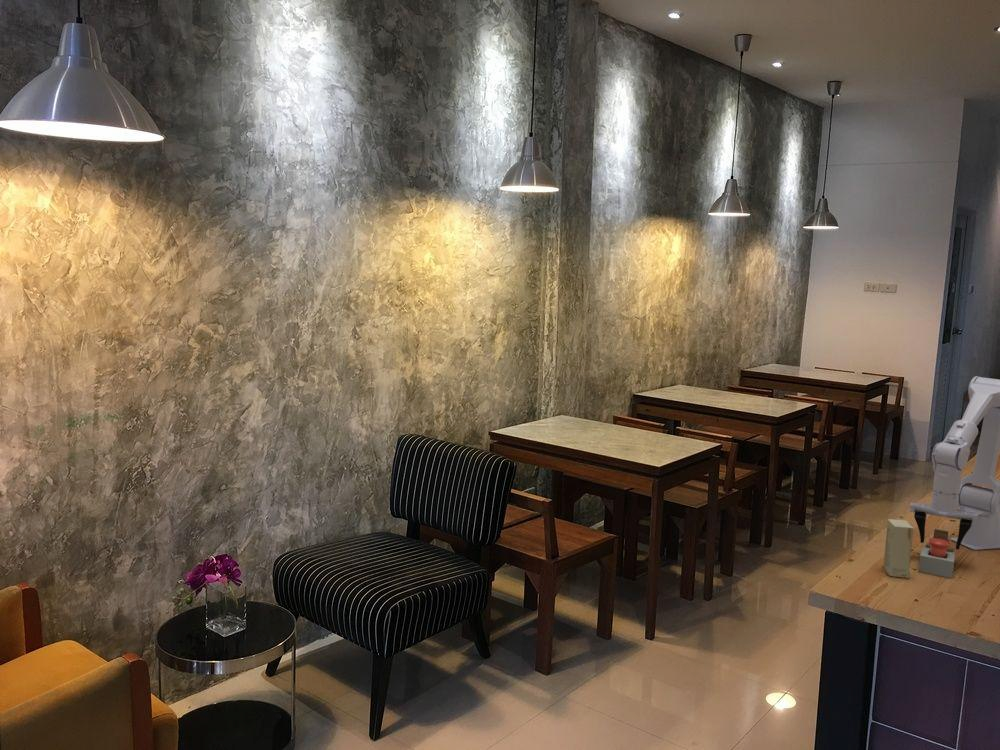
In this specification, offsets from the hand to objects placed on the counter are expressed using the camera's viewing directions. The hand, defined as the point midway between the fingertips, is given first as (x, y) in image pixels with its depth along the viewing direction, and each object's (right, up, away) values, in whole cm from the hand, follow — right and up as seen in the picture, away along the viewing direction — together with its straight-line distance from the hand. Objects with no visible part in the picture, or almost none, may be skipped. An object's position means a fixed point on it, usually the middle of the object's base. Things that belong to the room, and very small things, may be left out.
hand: (939, 544), depth 200 cm
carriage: (0, -4, +1) cm, 4 cm away
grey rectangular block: (-4, -5, -5) cm, 8 cm away
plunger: (-4, -2, -6) cm, 7 cm away
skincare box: (-14, -5, -7) cm, 17 cm away
